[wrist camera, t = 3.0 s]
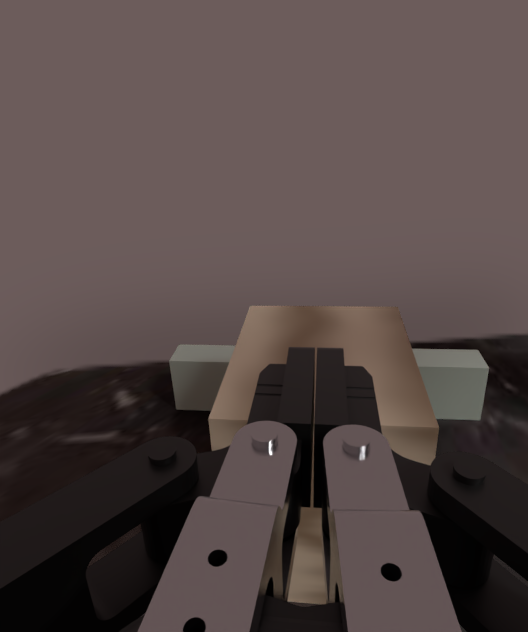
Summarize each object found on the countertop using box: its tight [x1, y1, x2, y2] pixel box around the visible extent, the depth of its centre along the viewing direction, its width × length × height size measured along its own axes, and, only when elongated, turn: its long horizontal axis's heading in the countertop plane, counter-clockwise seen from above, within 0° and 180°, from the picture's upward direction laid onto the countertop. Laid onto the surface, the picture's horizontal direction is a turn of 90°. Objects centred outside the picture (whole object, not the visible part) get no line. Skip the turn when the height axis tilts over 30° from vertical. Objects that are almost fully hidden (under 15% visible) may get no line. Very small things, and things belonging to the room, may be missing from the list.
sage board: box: [169, 345, 489, 420], centre depth 41 cm, size 26×3×5 cm, turn 83°
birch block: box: [208, 306, 439, 604], centre depth 29 cm, size 10×13×12 cm
